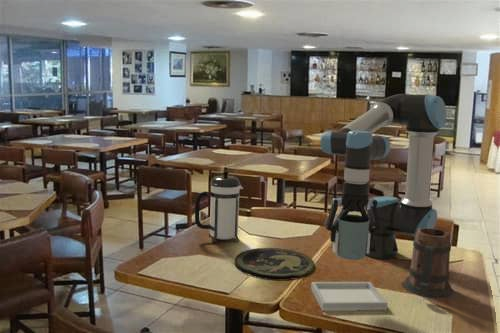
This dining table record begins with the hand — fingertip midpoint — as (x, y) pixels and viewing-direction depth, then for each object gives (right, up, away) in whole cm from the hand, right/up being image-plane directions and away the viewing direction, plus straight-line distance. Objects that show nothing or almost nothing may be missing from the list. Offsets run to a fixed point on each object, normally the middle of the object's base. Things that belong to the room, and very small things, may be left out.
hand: (350, 251), depth 156 cm
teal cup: (0, -1, 0) cm, 1 cm away
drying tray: (-1, -16, +3) cm, 16 cm away
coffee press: (-44, -5, +58) cm, 73 cm away
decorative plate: (-22, -11, +31) cm, 40 cm away
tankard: (+28, -15, +12) cm, 34 cm away
